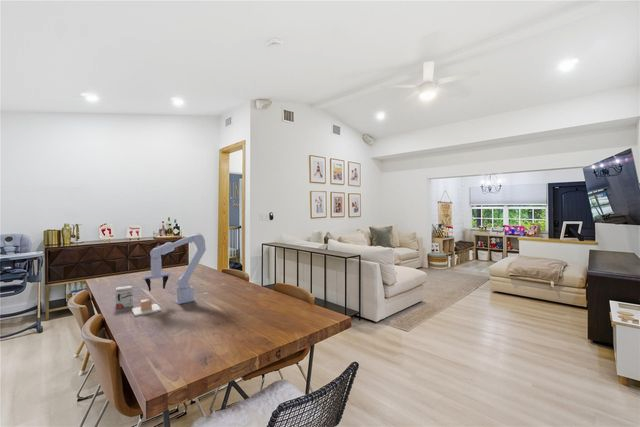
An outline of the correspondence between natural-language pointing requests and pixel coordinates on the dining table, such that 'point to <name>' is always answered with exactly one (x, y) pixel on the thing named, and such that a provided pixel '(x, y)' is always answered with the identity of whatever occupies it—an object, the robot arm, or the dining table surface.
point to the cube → (146, 304)
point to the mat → (138, 311)
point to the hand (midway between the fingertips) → (156, 289)
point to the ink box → (124, 297)
